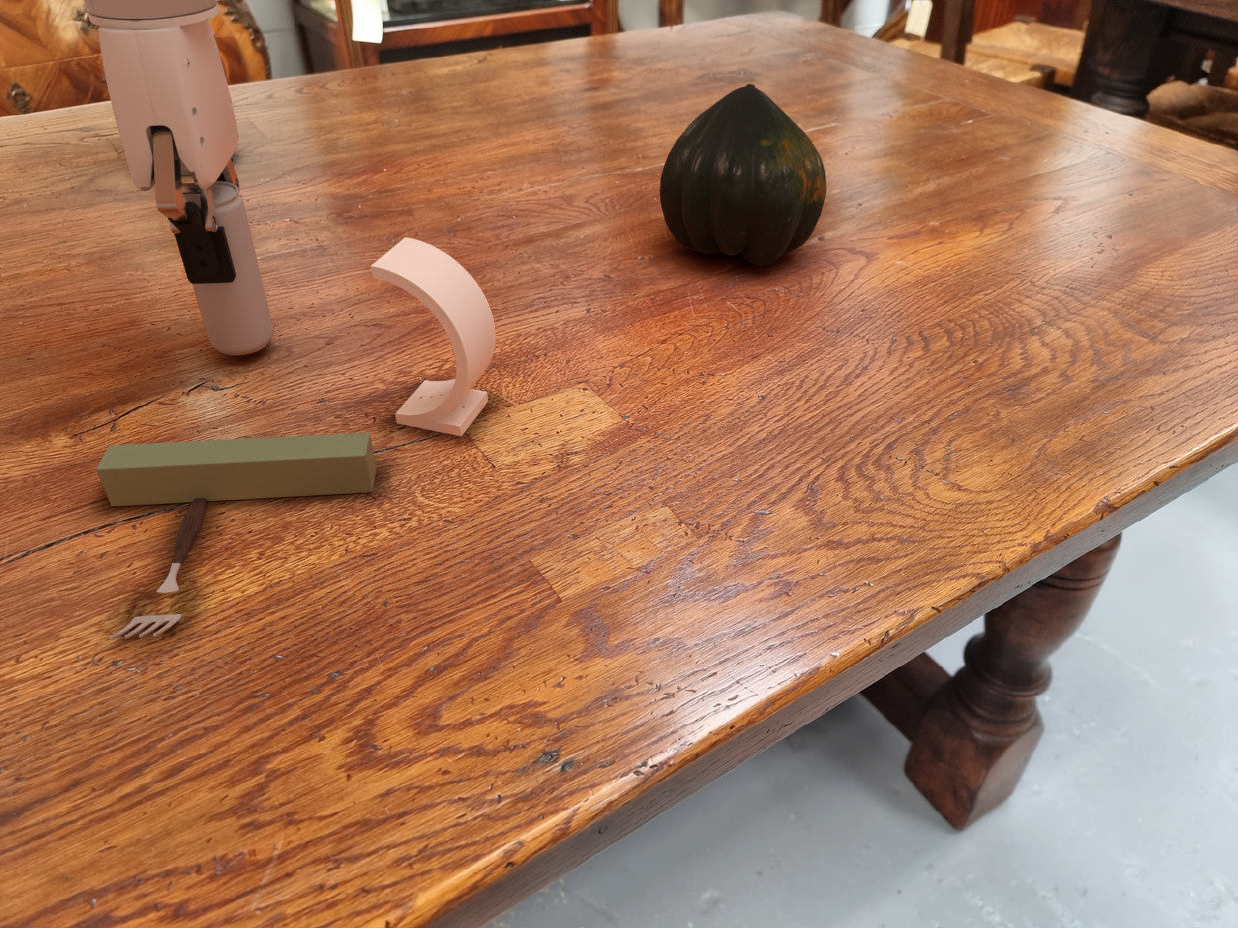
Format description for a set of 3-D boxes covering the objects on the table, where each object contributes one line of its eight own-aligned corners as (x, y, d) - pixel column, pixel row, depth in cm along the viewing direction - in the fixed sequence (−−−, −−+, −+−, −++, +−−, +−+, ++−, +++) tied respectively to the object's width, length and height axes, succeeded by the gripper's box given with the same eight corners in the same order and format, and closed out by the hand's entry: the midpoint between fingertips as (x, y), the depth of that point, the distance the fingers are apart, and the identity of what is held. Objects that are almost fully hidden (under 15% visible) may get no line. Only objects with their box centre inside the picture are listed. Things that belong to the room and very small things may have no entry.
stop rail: (111, 507, 57) (95, 469, 56) (123, 482, 59) (108, 444, 58) (372, 492, 59) (365, 455, 57) (377, 468, 61) (370, 431, 59)
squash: (737, 248, 76) (822, 80, 75) (607, 204, 84) (682, 52, 83) (801, 308, 87) (875, 164, 86) (681, 264, 96) (747, 132, 95)
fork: (236, 472, 61) (229, 448, 60) (169, 660, 48) (158, 634, 47) (195, 474, 61) (187, 450, 59) (117, 664, 48) (105, 638, 47)
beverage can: (273, 322, 74) (238, 176, 67) (278, 352, 71) (242, 201, 63) (209, 332, 73) (166, 184, 65) (212, 363, 69) (166, 210, 62)
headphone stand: (426, 389, 68) (405, 236, 61) (501, 404, 67) (489, 249, 60) (396, 423, 65) (370, 265, 57) (474, 439, 63) (458, 280, 56)
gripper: (128, -36, 63) (198, 218, 74) (30, 23, 50) (133, 323, 61) (242, -36, 64) (294, 216, 75) (175, 22, 50) (251, 318, 61)
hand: (221, 261), depth 68 cm, fingers closed on beverage can, 4 cm apart
